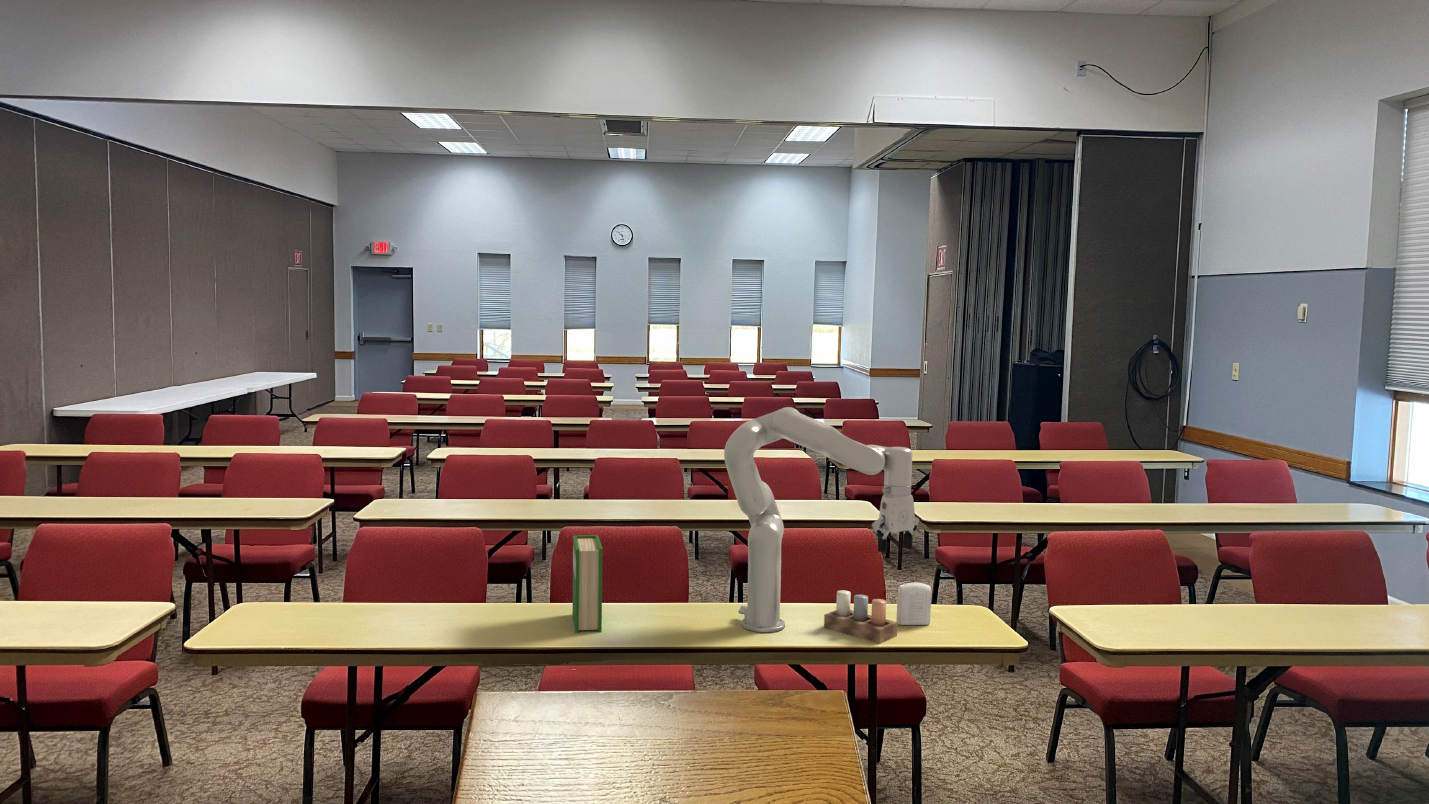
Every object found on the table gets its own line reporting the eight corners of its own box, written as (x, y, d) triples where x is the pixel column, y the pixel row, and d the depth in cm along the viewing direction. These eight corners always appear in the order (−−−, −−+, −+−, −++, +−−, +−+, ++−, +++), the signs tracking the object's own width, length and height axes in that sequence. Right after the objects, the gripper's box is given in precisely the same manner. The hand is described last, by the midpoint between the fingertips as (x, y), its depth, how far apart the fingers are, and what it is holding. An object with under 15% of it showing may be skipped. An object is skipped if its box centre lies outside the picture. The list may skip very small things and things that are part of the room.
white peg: (833, 615, 266) (834, 592, 266) (841, 612, 269) (841, 589, 269) (844, 618, 264) (845, 595, 263) (852, 615, 266) (853, 592, 266)
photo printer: (927, 621, 274) (928, 580, 273) (932, 625, 270) (933, 584, 269) (894, 621, 273) (895, 581, 272) (898, 626, 268) (900, 585, 267)
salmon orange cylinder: (868, 625, 258) (869, 600, 258) (876, 621, 261) (876, 598, 261) (880, 628, 255) (881, 603, 255) (888, 625, 258) (889, 600, 258)
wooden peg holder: (823, 627, 266) (824, 614, 265) (841, 621, 272) (841, 607, 272) (880, 643, 253) (880, 629, 253) (896, 636, 260) (897, 622, 259)
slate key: (850, 620, 262) (851, 596, 262) (858, 617, 265) (859, 593, 265) (862, 623, 259) (863, 599, 259) (870, 620, 262) (870, 596, 262)
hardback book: (601, 632, 258) (602, 548, 256) (575, 633, 256) (576, 549, 254) (597, 613, 275) (598, 535, 273) (572, 614, 273) (573, 535, 272)
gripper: (884, 495, 250) (881, 556, 251) (928, 490, 259) (926, 549, 260) (865, 490, 256) (863, 550, 257) (909, 486, 265) (907, 544, 267)
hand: (894, 550), depth 259 cm, fingers open, 9 cm apart
